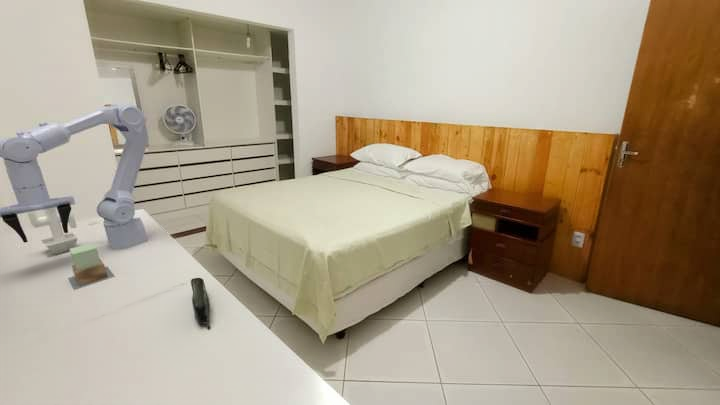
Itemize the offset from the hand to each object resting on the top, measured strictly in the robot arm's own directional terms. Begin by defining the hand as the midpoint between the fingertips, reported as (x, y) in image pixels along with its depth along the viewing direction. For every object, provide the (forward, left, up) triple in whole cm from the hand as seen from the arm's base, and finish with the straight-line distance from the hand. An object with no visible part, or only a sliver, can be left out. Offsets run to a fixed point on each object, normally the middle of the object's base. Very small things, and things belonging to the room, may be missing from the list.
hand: (46, 236), depth 82 cm
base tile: (-5, +14, -10) cm, 18 cm away
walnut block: (-5, +14, -9) cm, 17 cm away
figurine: (-3, -17, -11) cm, 20 cm away
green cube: (-5, +14, -5) cm, 16 cm away
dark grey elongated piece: (-18, +47, -11) cm, 51 cm away
